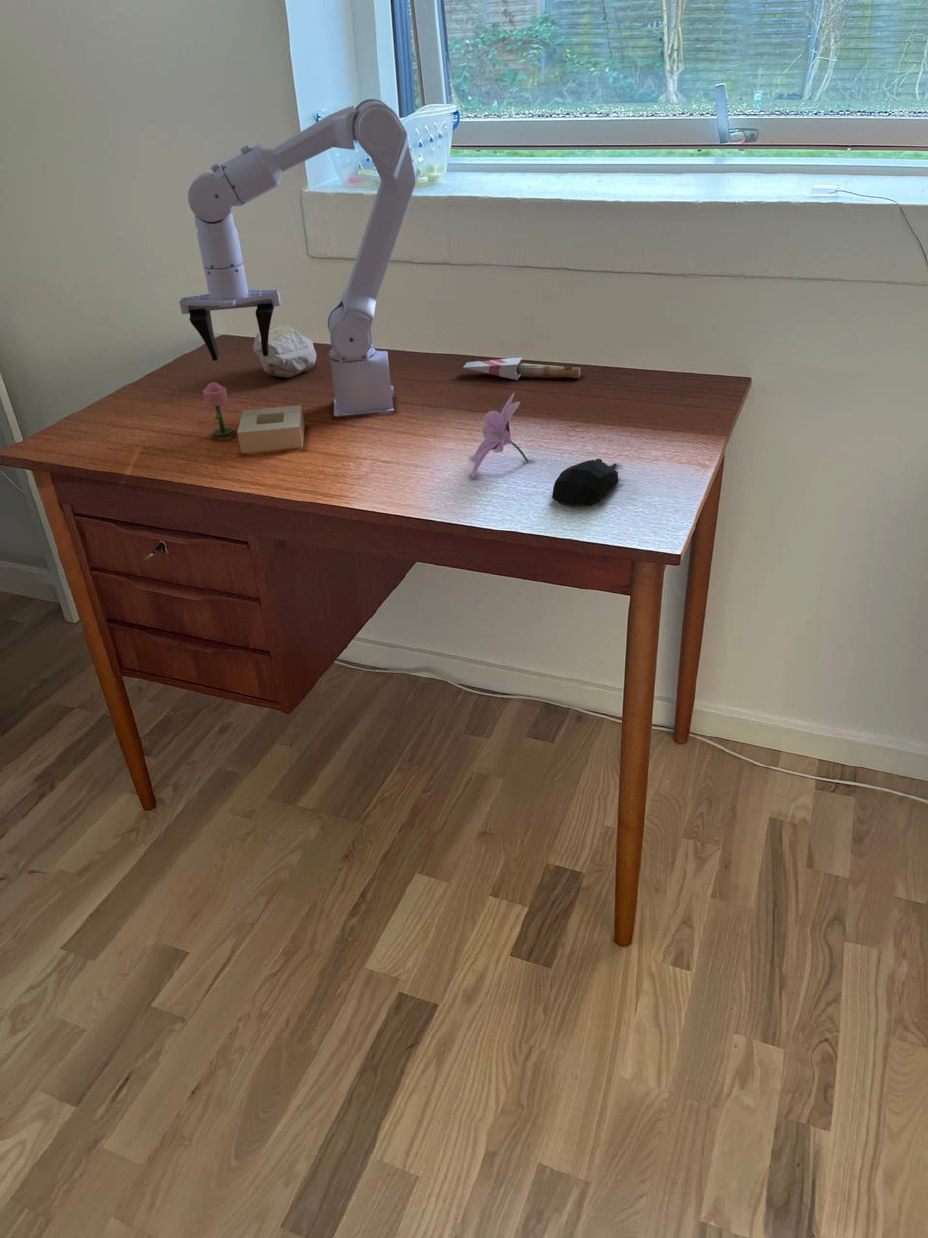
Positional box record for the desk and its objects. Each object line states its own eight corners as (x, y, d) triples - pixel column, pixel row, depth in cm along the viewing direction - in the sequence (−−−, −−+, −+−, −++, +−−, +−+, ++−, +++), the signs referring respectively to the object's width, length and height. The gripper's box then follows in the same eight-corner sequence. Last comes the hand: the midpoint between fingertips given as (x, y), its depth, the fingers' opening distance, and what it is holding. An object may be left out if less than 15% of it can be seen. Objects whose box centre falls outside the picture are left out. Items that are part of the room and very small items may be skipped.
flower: (236, 431, 144) (225, 377, 140) (233, 442, 141) (222, 387, 136) (214, 434, 144) (202, 379, 139) (211, 444, 141) (198, 389, 136)
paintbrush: (467, 352, 161) (581, 361, 156) (467, 368, 162) (580, 377, 158) (461, 359, 158) (578, 368, 153) (461, 375, 159) (577, 384, 155)
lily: (495, 447, 136) (461, 397, 131) (564, 426, 130) (531, 373, 124) (473, 504, 130) (435, 454, 124) (544, 485, 123) (508, 432, 117)
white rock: (329, 363, 171) (279, 367, 173) (320, 317, 167) (269, 322, 169) (306, 381, 160) (253, 385, 163) (296, 332, 156) (242, 337, 159)
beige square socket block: (305, 428, 144) (301, 404, 142) (303, 450, 137) (299, 426, 135) (247, 433, 144) (242, 410, 142) (242, 456, 136) (237, 432, 134)
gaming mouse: (636, 470, 125) (638, 442, 123) (587, 515, 115) (588, 486, 112) (594, 461, 128) (595, 434, 126) (542, 505, 118) (542, 476, 115)
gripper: (168, 274, 131) (189, 368, 139) (271, 266, 132) (286, 360, 140) (176, 263, 137) (196, 354, 145) (274, 255, 138) (289, 346, 145)
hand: (241, 356), depth 142 cm, fingers open, 7 cm apart
